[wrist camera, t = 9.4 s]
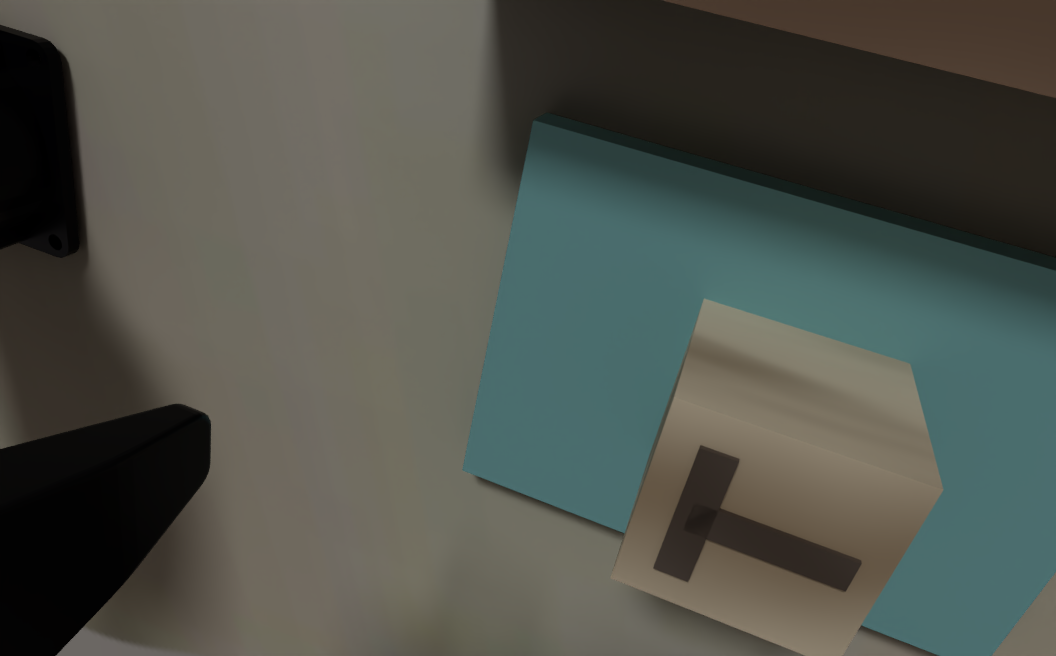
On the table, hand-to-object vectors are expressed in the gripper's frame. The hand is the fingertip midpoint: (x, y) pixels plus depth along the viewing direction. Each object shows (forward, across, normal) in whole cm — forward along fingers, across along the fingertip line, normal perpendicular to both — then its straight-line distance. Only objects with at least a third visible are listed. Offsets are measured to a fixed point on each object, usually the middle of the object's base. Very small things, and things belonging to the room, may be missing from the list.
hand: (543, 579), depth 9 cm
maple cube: (+10, -3, +2) cm, 11 cm away
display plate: (+11, -3, +2) cm, 11 cm away
